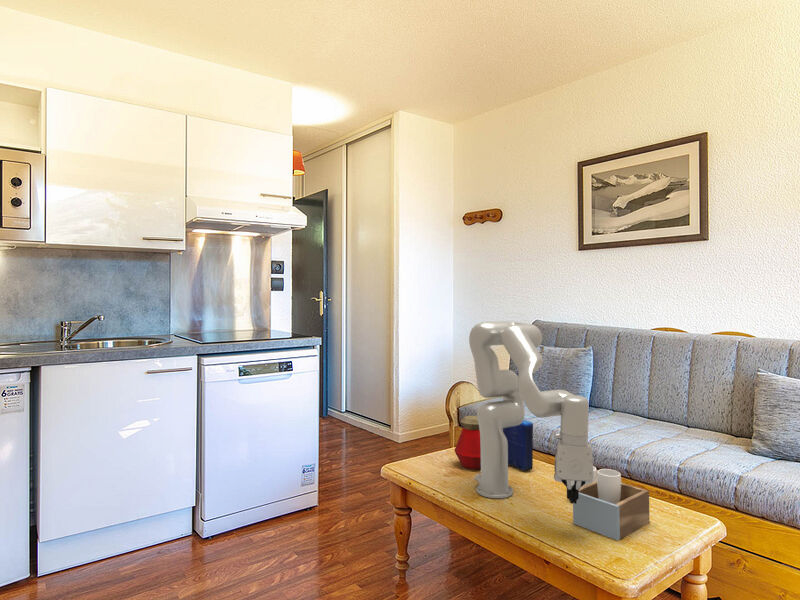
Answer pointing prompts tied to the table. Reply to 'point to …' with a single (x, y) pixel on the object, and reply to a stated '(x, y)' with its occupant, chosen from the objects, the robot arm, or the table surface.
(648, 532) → the table surface
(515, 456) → the book
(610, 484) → the drinking glass
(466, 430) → the red faceted jar
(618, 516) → the thin blue-gray plank
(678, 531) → the table surface
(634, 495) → the u-shaped wooden frame
